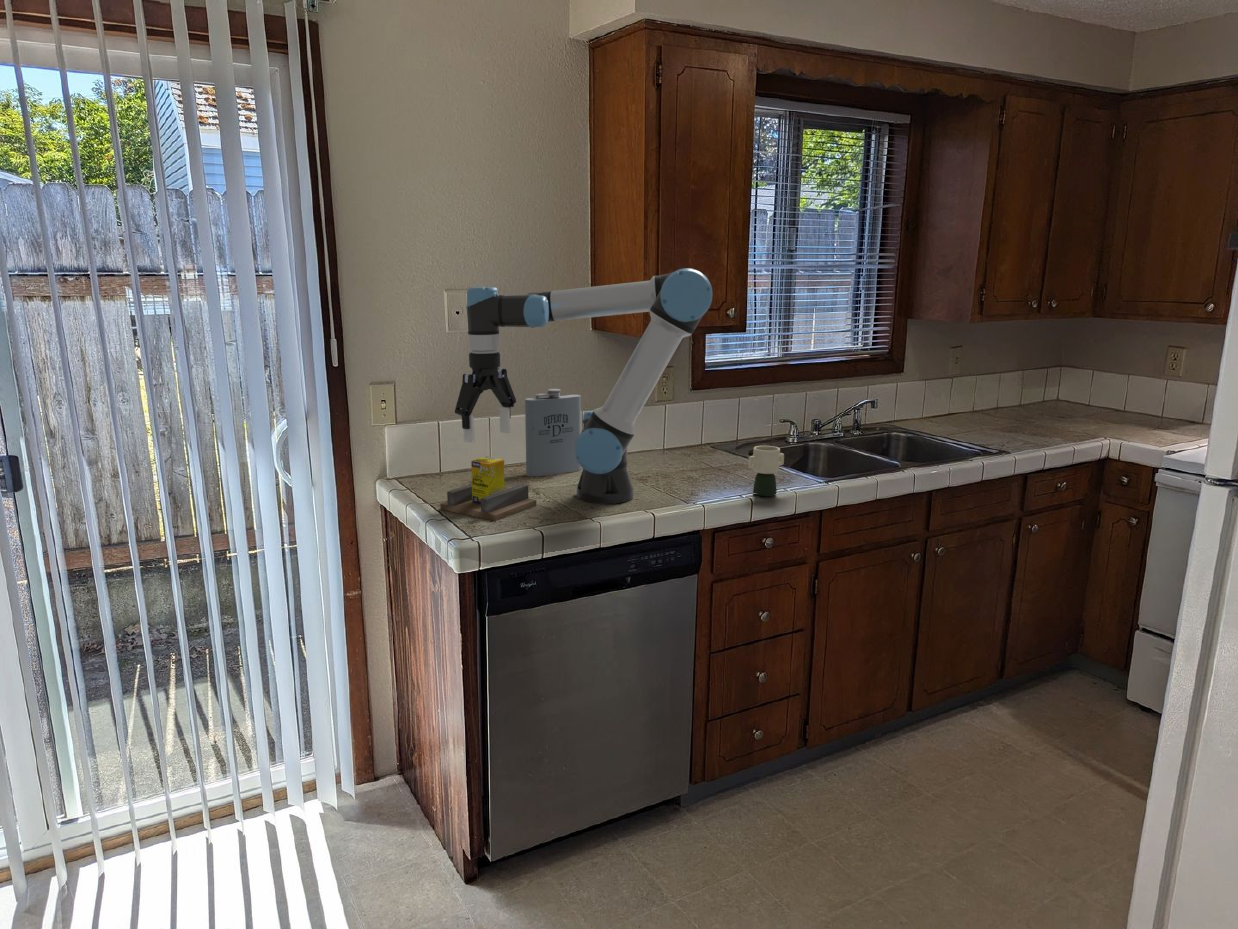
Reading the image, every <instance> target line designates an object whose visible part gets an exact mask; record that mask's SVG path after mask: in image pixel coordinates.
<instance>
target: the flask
mask: <svg viewBox="0 0 1238 929" xmlns="http://www.w3.org/2000/svg"><path fill="white" fill-rule="evenodd" d="M561 391H562V390H561V389H560V388H549V389H547V392H545V393H535V394H534V395H535V396H534V397H528V398H524V411H525V412H524V414H525V416H524V420H525V426H524V427H525V465H526V466H525V467H526V468H525V472H526V473H525V474H527V475H528V476H527V475H526V476H527V477H530V476H536V477H546V476H545V475H548V476H555V475H554V474H556V475H561V474H560V473H564V474H568V473H567V472H570V473H575V472H580V471H581V470H582V467H581V466H580V464H579V463H578V461H577V459H576V457H575V448H574V446H575V441H576V439H577V437H578V436H579V435H580V434H581V432H582V428H581V427H582V426H581V425H582V424H581V423H582V422H581V421H582V419H581V418H582V412H581V411H582V408H581V407H582V404H581V401H582V400H581V399H582V398H581V397H582V396H581V395H580V394H567V395H561Z"/></svg>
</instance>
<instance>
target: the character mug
mask: <svg viewBox="0 0 1238 929" xmlns="http://www.w3.org/2000/svg"><path fill="white" fill-rule="evenodd" d="M752 452H753V454H752V455H751V456H749V457H748V463H747V464H748V469H752V470H753V472H755V473H756V475H755V478H754V484H753V492H752V494H755V495H758V496H759V497H761V496H763V497H772V496H775V495H777V479H776V475H775V474H777V473H779V470H780V466H782V465H784V464H785V463H784V462H785V454H784V453H782V452H781V448H780V447H778V446H773V445H756V446H754V447H753V451H752Z"/></svg>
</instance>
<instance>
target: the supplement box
mask: <svg viewBox="0 0 1238 929" xmlns="http://www.w3.org/2000/svg"><path fill="white" fill-rule="evenodd" d="M470 463H471V465H470V466H471V484H472V501H473V502H475V503H480V504H481V498H483V497H486V496H489V495H492V494H495V493H498V492H501V491H503V490H506V489H505V486H506V485H505V460H504V459H502V458H495V457H490V456H483V457H480V458H476V459H472V460H470Z"/></svg>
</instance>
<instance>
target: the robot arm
mask: <svg viewBox="0 0 1238 929" xmlns="http://www.w3.org/2000/svg"><path fill="white" fill-rule="evenodd" d="M713 293H714V292H713V288H712V284H711V283H710V280H709V279H708V277H707V276H706V275H705V274H704V273H702V272H701V271H699V270H697V269H694V268H691V267H690V268H689V267H687V268H686V267H684V268H679V269H677V270H674V271H673V272H670V273H665V274H661V275H653V276H652V277H651V279H650V280H643V281H633V282H624V283H616V284H615V283H614V284H606V285H605V284H604V285H597V286H596V285H595V286H589V287H588V286H587V287H579V288H570V289H560V290H552V291H542V292H541V291H540V292H537V291H536V292H529V293H527V294H520V295H519V294H517V295H513V294H512V295H502V294H499V292H498V288H497V287H496V286H495V287H494V286H472V287H469V288H468V289H467V291H466V306H465V308H466V320H467V336H468V338H467V339H468V350H469V351H470V352H469V354H468V362H469V363H468V365H469V368H471V370H472V372H471V373H470V374H469V373H463V374H462V383H461V387H460V390H459V394H458V398H457V402H456V404H455V409H454V413H455V414H457V415H458V416H461V427H462V429H463V442H466V443H472V444H473V443H475V424H474V421H475V420H474V415H472V412H473V411H474V408H475V406H476V404H477V402H478V400H479V398H480V397H481V396H480V395H481V394H483V393H484V392H485V391H488V390H491V392H492V394H494V396H495V398H496V399H497V400H498V402H499V404H500V405H501V406H499V408H498V409H499V429H500V433H505V434H510V433H511V416H512V415H511V408H514V406H515V404H516V403H517V398H516V396H515V393H514V391H513V389H512V384H511V383H510V381H509V376H508V371H507V369H506V368H500V367H501V353H500V352H499V350H500V349H501V341H500V339H501V338H500V328H506V327H508V328H512V327H513V328H533V329H534V328H542V327H546V326H547V324H548V323H550V322H557V321H568V320H569V321H570V320H576V319H577V320H579V319H586V318H587V319H588V318H596V317H597V318H599V317H606V316H619V315H626V314H627V315H628V314H637V313H647V312H649V316H650V322H649V323H648V326H647V327H646V329H645V330H644V332H643V334H642V335H641V337H640V339H639V342H638V343H637V345H636V347H635V348H634V350H633V352H632V354H631V355H630V357H629V359H628V361H627V363H626V364H625V366H624V368H623V370H622V372H621V374H620V375H619V377H618V379H617V381H616V383H615V384H614V386H613V388H612V389H611V391H610V393H609V395H608V397H607V398H606V400H605V402H604V404H603V405H602V406H601V407H598V408H594V409H593V411H591V410H588V411H585V412H584V413H583V417H582V419H581V421H582V422H581V423H582V426H583V427H582V429H581V434H580V435H579V436H578V437H577V439H576V441H575V446H574V448H575V457H576V459H577V461H578V463H579V464H580V466H581V469H582V471H581V475H580V477H579V481H578V483H577V487H576V498H577V499H578V500H580V501H583V502H587V503H591V504H600V505H601V504H605V505H606V504H607V505H609V504H611V505H612V504H619V503H623V502H625V503H626V502H628V501H630V500H632V499H633V498H634V485H633V483H632V479H631V476H630V474H629V470H628V446H629V444H630V443H631V441H632V440H633V438H634V436H635V434H636V429H635V422H636V420H637V418H638V416H639V415H640V414H641V412H642V409H643V408H644V406H645V404H646V402H647V401H648V399H649V398H650V396H651V394H652V392H653V391H654V388H655V387H656V385H657V383H658V382H659V380H660V378H661V377H662V375H663V373H664V372H665V369H666V368H667V366H668V364H669V362H670V361H671V359H672V358H673V356H674V354H675V352H676V350H677V348H679V347H678V346H679V345H680V343H681V341H682V340H683V339H684V338H686V337H690V336H692V334H694V331H695V330H696V328H697V327H698V325H699V324H700V321H701V320H702V318H703V317H704V315H705V314H706V313H707V312H708V311H709V309H710V307H711V304H712V302H713V296H714V295H713Z"/></svg>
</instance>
